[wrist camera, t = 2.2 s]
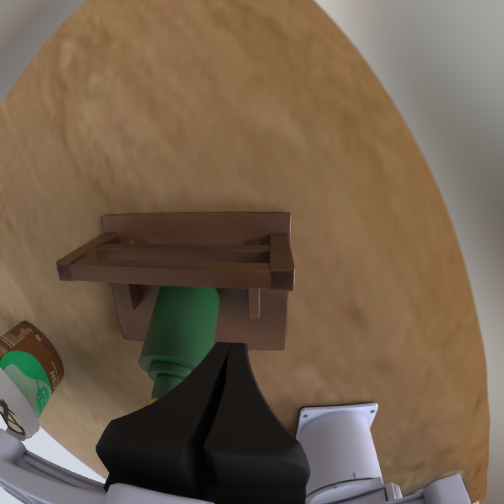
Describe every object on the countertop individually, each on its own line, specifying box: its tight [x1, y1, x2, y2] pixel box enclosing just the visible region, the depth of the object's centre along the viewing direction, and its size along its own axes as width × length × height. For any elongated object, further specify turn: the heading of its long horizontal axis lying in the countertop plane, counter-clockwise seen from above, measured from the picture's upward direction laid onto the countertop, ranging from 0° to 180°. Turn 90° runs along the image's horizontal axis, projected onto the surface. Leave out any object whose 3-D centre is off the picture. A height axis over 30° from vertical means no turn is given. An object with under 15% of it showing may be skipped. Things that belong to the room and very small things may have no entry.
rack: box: [56, 212, 295, 350], centre depth 19 cm, size 11×14×7 cm
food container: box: [0, 321, 64, 441], centre depth 22 cm, size 12×6×10 cm, turn 169°
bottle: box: [139, 285, 220, 405], centre depth 18 cm, size 4×4×9 cm
